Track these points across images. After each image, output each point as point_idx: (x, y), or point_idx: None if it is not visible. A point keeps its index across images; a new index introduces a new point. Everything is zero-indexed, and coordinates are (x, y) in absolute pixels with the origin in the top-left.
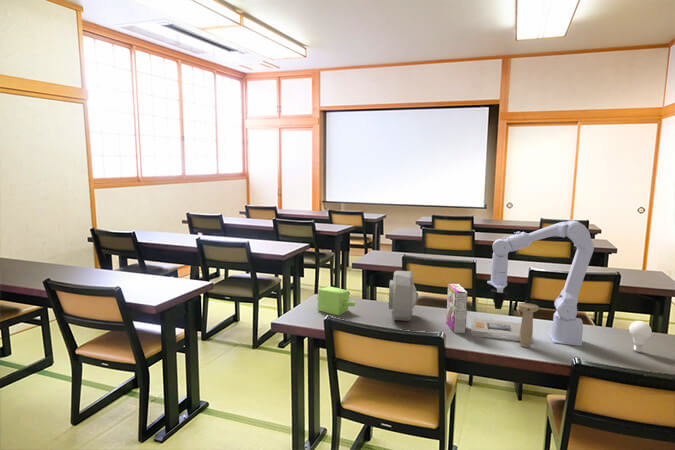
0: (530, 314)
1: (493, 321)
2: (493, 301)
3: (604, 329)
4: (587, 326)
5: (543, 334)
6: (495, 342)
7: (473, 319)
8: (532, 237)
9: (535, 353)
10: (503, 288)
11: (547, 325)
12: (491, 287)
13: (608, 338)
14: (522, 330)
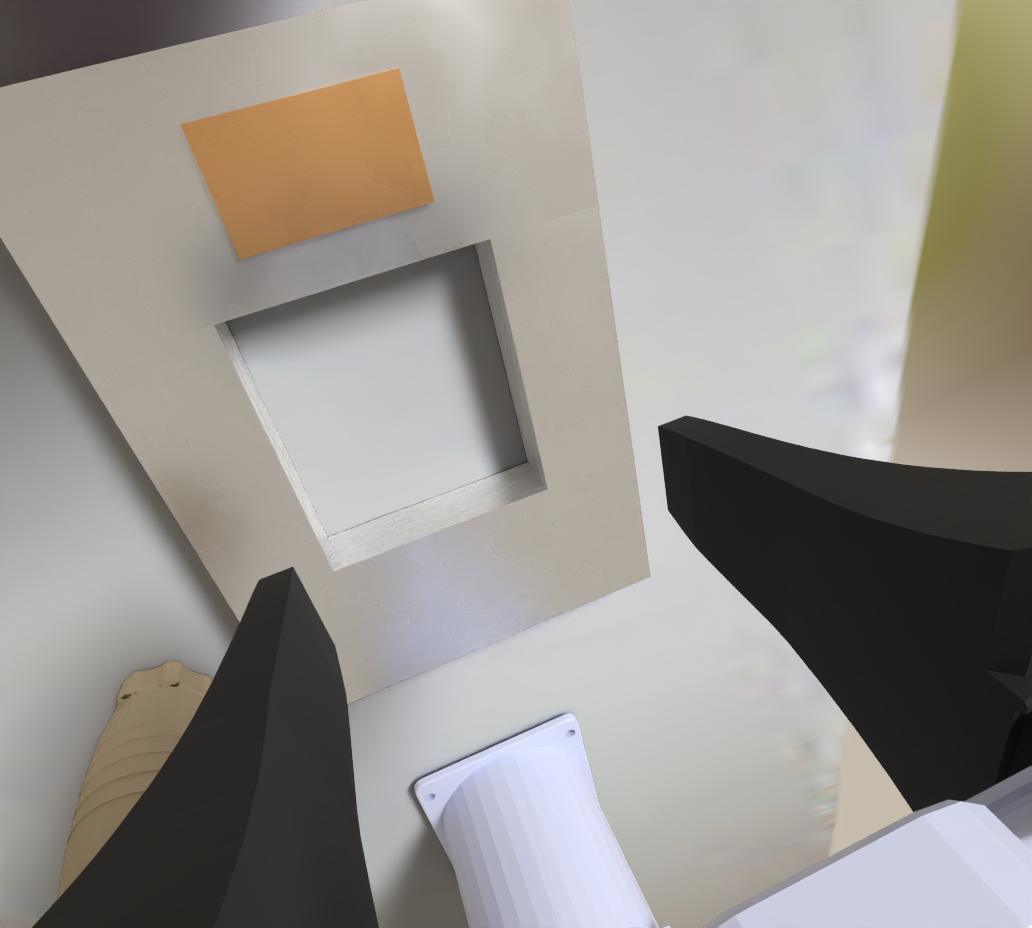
0: None
1: (571, 308)
2: (669, 431)
3: (799, 832)
4: (820, 777)
5: (563, 682)
6: (4, 459)
7: (512, 8)
8: None
9: (54, 793)
10: (905, 788)
11: (766, 639)
12: (942, 559)
13: (671, 887)
14: (67, 845)
